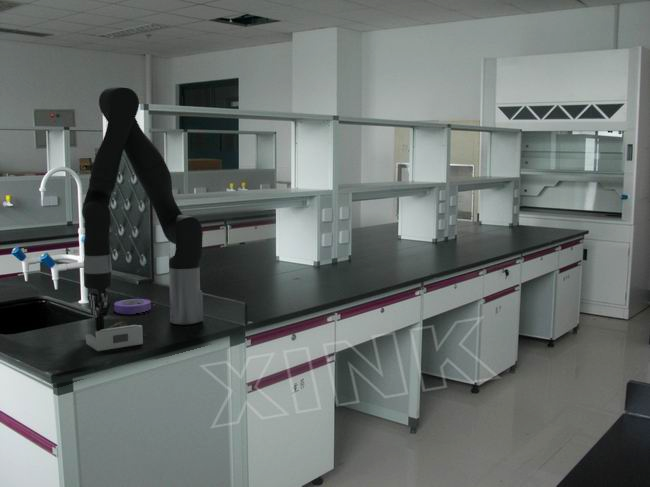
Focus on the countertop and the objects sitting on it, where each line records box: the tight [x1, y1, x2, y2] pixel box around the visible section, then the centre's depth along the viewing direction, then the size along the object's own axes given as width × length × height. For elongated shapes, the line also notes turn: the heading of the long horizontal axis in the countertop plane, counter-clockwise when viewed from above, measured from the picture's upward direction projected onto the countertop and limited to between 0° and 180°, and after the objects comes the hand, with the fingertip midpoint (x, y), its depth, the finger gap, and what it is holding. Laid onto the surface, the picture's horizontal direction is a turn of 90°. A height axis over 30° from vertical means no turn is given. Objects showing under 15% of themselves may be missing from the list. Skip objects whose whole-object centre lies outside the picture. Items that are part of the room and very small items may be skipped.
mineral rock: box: [105, 320, 128, 329], centre depth 192 cm, size 11×4×8 cm
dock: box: [85, 324, 144, 352], centre depth 185 cm, size 12×10×5 cm
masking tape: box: [113, 298, 152, 315], centre depth 224 cm, size 12×12×4 cm
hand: (99, 330), depth 194 cm, fingers closed
